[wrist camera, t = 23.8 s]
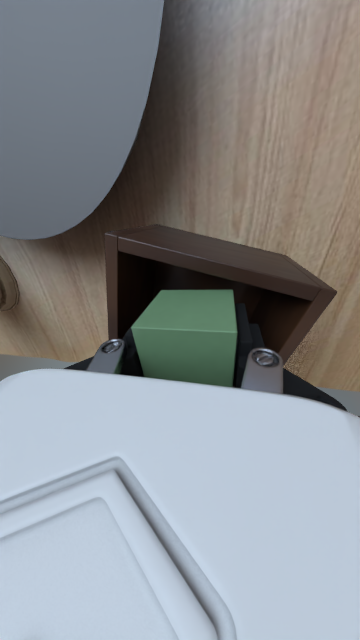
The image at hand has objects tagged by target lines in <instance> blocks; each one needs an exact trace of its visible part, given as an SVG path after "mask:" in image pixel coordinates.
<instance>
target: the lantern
mask: <svg viewBox="0 0 360 640" xmlns="http://www.w3.org/2000/svg"><path fill="white" fill-rule="evenodd" d="M18 298H19V291H18V287H17V283H16V280H15V278H14V276H13V274H12V272H11V270H10V269H9V267H8V265H7V264H6V263H5V261H4V260H3V259H2V258H1V256H0V311H5V310H11V309H12V308H14V307H15V306H16V305H17V304H18Z"/></svg>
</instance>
